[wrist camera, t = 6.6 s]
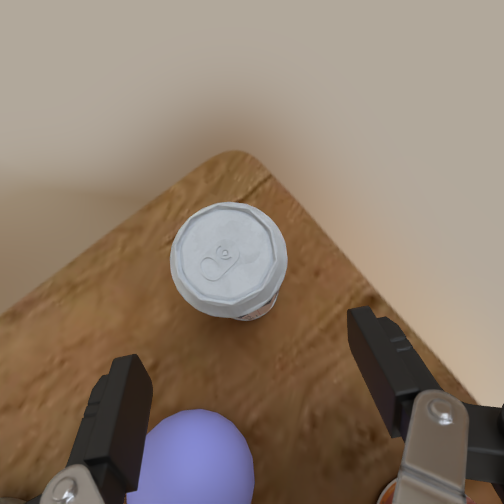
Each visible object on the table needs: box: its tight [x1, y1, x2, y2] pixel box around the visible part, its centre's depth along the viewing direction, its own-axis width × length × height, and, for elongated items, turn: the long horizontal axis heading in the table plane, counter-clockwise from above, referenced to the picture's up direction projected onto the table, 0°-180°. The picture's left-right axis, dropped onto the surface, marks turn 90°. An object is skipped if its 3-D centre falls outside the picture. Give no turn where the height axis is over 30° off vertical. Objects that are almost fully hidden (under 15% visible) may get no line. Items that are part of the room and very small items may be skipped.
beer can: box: [170, 202, 287, 321], centre depth 18 cm, size 5×5×12 cm
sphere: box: [127, 409, 255, 504], centre depth 19 cm, size 7×7×7 cm
